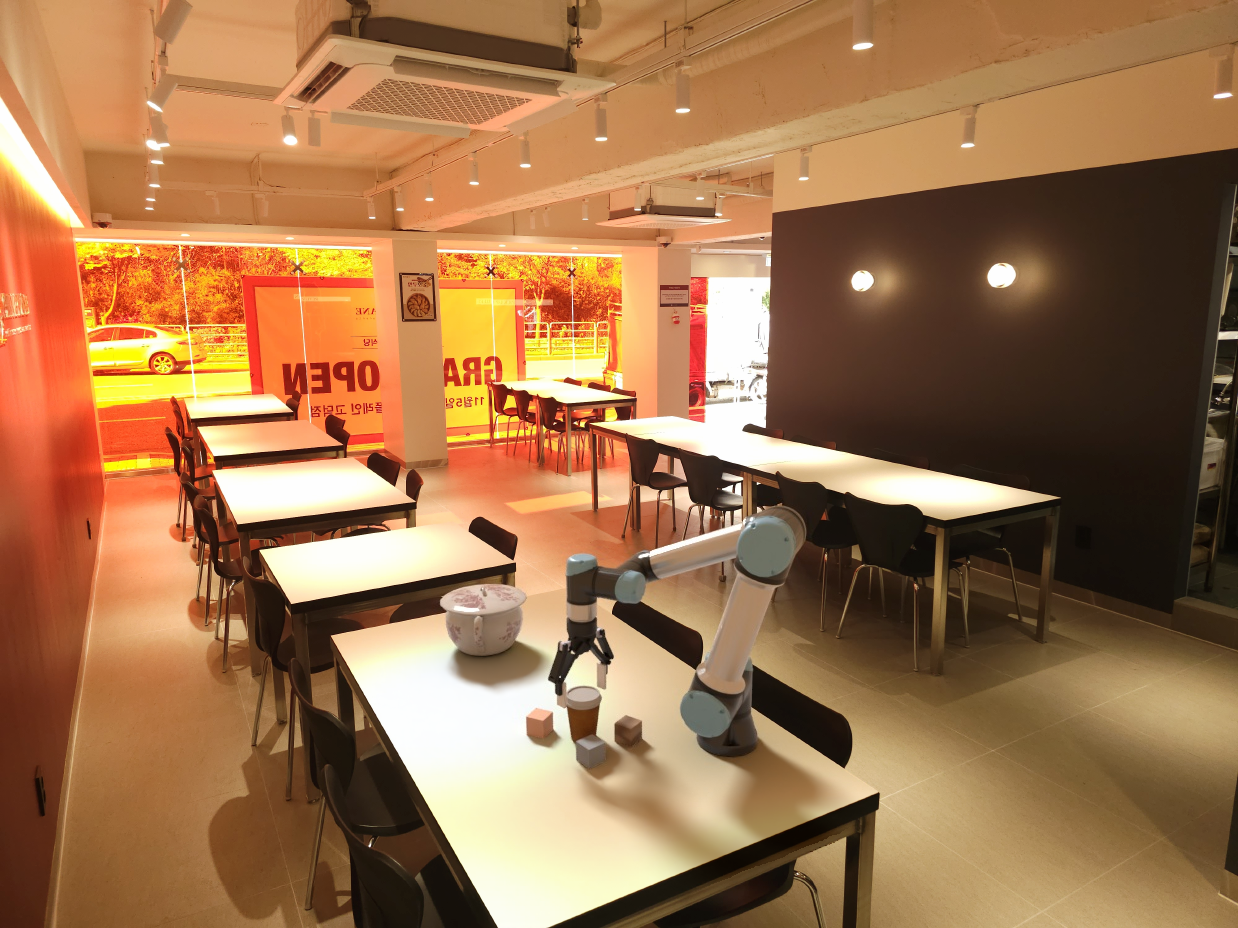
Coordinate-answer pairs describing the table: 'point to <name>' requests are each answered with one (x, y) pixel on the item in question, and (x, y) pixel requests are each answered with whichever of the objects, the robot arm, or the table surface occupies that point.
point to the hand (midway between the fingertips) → (582, 696)
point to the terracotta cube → (539, 723)
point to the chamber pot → (484, 617)
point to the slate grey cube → (590, 751)
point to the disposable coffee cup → (583, 711)
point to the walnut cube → (628, 731)
